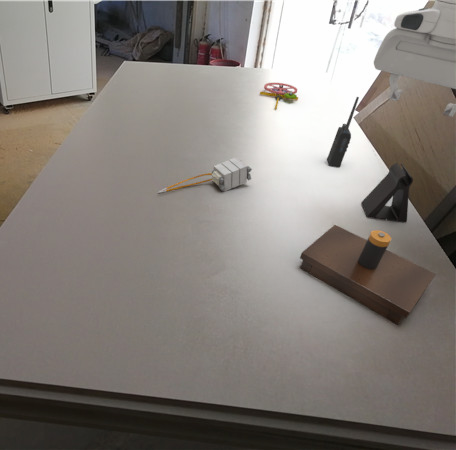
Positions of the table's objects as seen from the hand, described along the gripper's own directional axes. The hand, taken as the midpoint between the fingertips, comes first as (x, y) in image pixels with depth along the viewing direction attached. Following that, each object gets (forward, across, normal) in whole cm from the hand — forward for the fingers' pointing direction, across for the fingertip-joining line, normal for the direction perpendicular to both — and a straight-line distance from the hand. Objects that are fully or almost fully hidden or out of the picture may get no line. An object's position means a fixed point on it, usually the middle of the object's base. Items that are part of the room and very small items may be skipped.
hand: (419, 107), depth 73 cm
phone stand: (+29, 0, -12) cm, 32 cm away
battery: (+25, -6, +15) cm, 30 cm away
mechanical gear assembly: (+29, +61, -63) cm, 92 cm away
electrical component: (+29, +35, +14) cm, 48 cm away
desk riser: (+29, -6, +15) cm, 33 cm away
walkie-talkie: (+29, +20, -27) cm, 45 cm away
